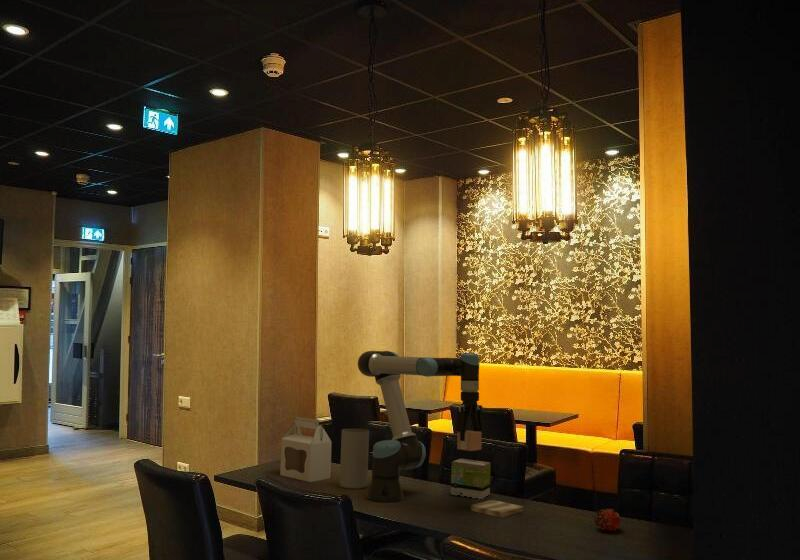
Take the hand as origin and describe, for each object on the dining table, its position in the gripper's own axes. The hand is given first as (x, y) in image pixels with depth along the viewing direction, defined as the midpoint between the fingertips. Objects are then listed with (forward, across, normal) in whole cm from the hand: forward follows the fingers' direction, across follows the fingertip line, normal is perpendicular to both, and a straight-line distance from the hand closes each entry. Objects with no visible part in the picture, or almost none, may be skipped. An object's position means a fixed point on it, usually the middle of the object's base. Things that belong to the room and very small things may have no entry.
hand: (469, 448), depth 273 cm
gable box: (+22, -13, +90) cm, 94 cm away
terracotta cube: (0, 0, 0) cm, 0 cm away
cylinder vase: (+23, -9, +60) cm, 65 cm away
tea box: (+24, +19, +14) cm, 34 cm away
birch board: (+24, +5, -10) cm, 26 cm away
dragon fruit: (+25, +14, -53) cm, 60 cm away
